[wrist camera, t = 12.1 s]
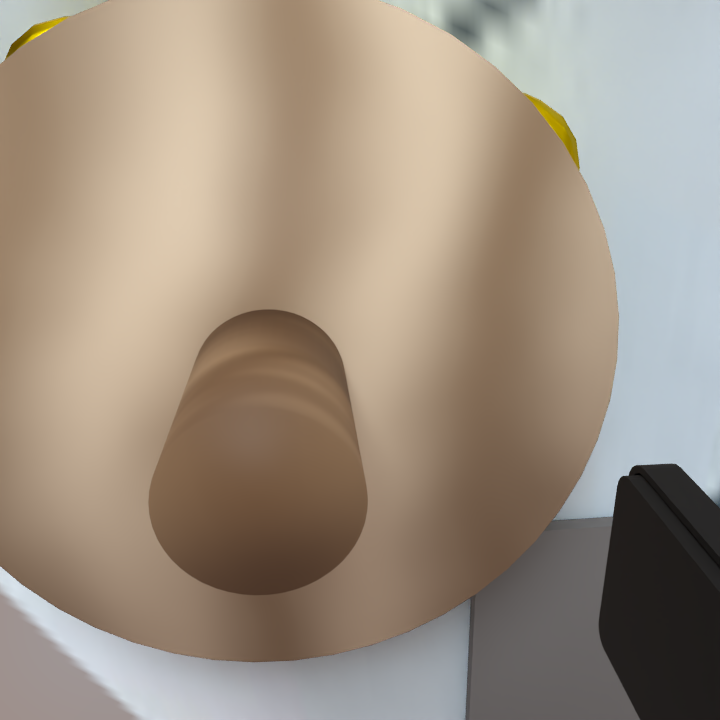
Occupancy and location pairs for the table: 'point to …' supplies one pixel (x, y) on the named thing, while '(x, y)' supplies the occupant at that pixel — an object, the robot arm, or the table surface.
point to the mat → (546, 633)
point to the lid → (285, 323)
